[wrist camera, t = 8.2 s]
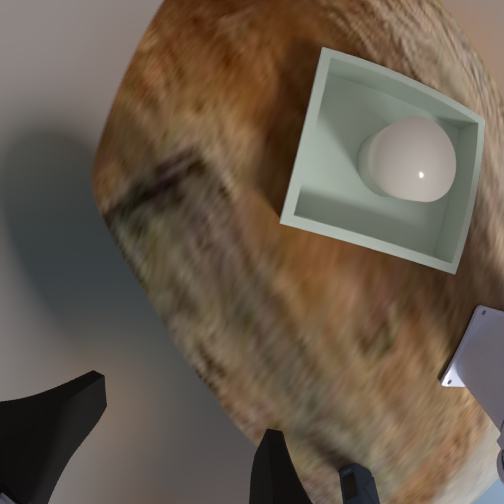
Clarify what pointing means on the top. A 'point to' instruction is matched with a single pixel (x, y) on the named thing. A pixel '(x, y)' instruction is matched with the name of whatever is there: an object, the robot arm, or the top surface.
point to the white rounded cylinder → (408, 160)
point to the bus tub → (347, 175)
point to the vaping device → (358, 486)
